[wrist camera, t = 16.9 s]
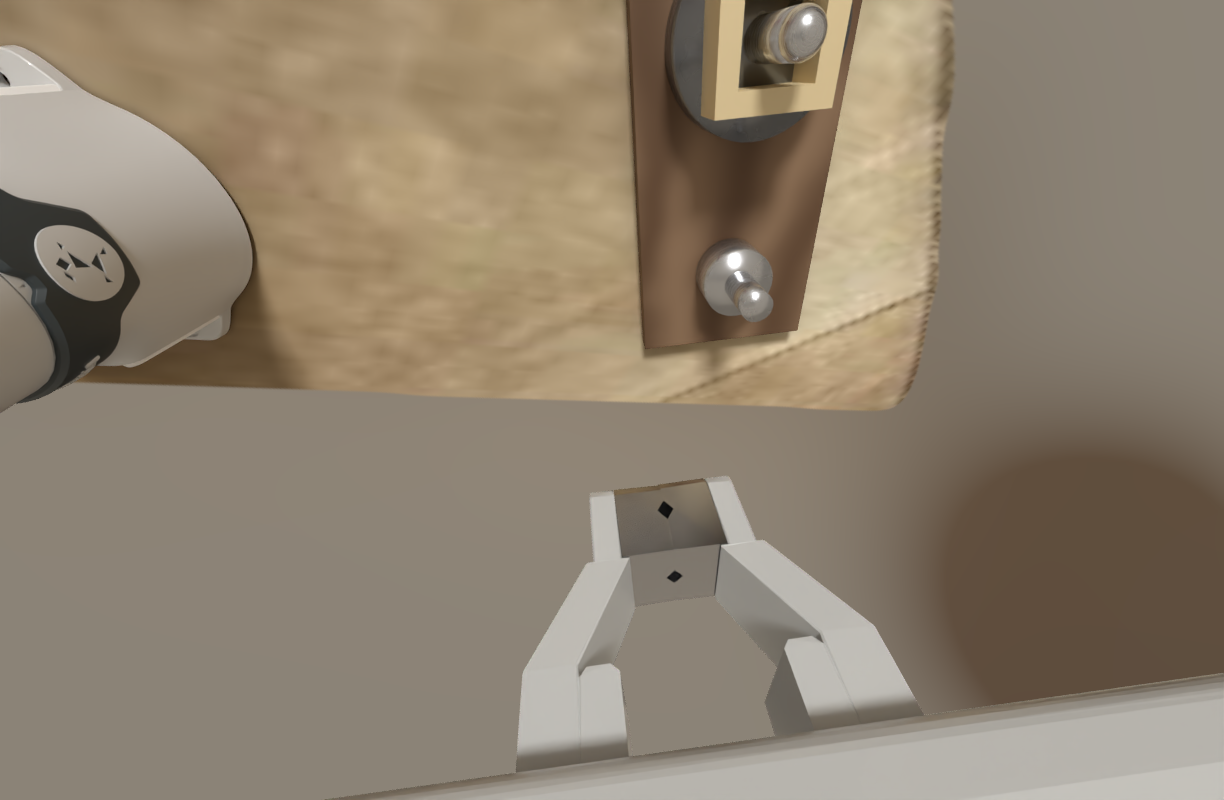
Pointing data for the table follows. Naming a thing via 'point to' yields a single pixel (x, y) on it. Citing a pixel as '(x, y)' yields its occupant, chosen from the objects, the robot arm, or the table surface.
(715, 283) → the silver knob
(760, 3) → the hub
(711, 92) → the collar
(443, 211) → the table surface
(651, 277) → the base board
